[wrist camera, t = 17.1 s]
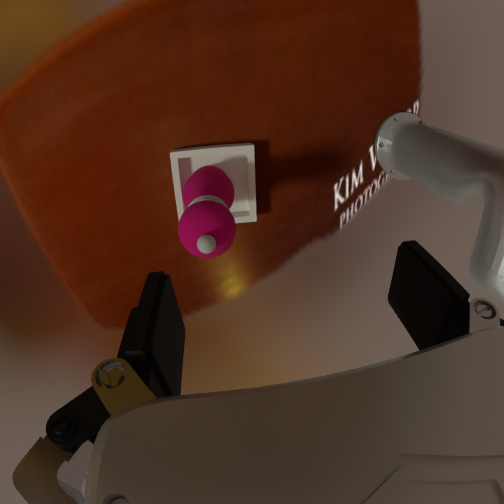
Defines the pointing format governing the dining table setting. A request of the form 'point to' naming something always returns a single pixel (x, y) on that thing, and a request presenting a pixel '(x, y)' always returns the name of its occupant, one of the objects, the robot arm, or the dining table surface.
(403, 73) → the dining table surface
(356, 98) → the dining table surface
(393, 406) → the robot arm
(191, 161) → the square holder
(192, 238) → the pepper mill
